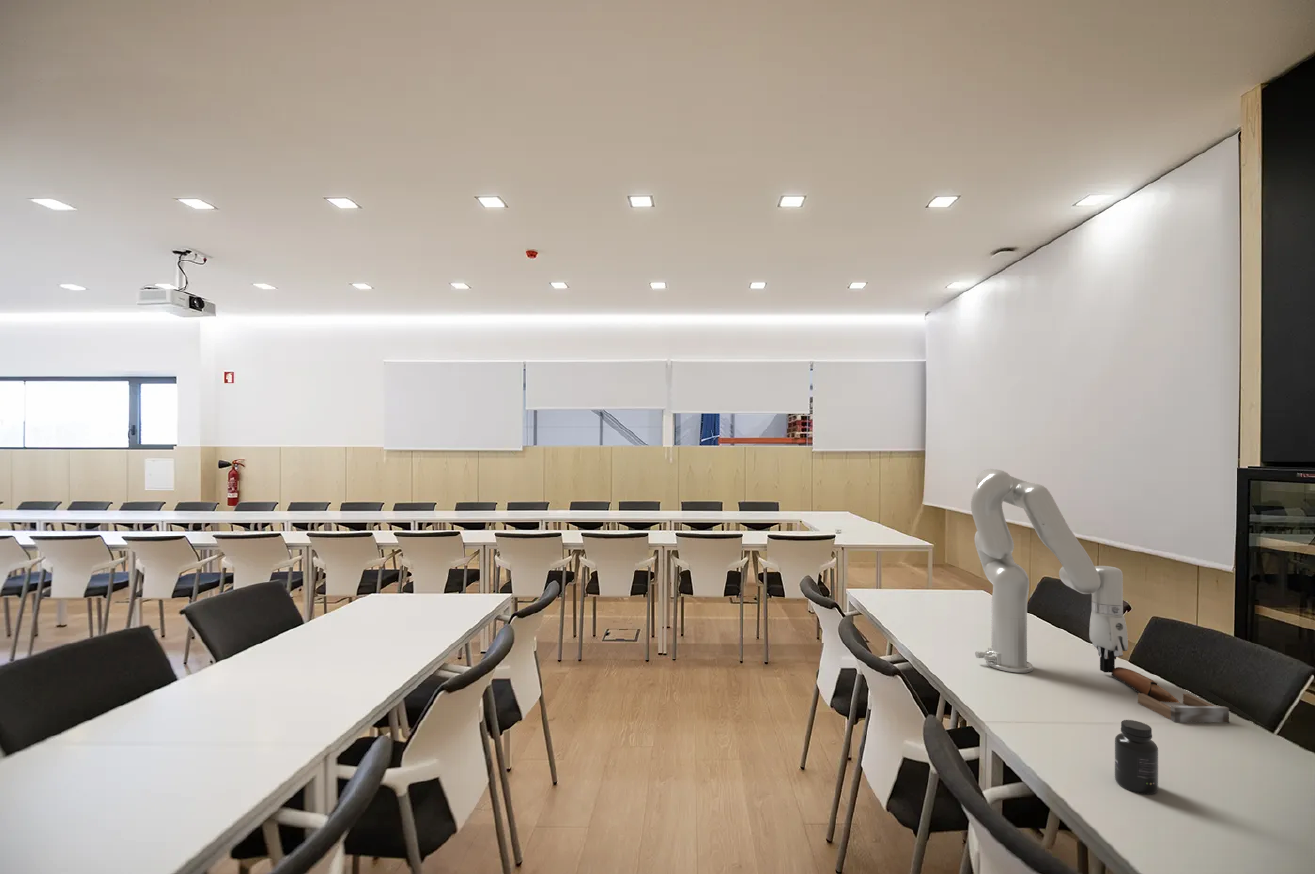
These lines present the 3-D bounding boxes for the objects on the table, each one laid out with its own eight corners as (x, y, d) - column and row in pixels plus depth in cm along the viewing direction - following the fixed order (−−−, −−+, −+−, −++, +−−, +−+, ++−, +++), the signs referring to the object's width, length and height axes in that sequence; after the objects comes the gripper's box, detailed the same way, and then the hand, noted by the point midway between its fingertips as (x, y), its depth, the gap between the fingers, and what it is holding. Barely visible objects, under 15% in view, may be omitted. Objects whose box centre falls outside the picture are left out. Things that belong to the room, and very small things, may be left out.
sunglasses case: (1183, 703, 166) (1169, 679, 166) (1158, 715, 166) (1143, 692, 167) (1142, 678, 183) (1129, 658, 184) (1119, 689, 184) (1106, 669, 185)
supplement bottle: (1105, 777, 127) (1105, 717, 127) (1137, 776, 128) (1137, 716, 128) (1134, 796, 120) (1134, 732, 120) (1167, 795, 121) (1167, 731, 121)
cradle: (1174, 722, 154) (1174, 707, 154) (1137, 702, 166) (1137, 689, 166) (1229, 722, 154) (1228, 708, 154) (1188, 703, 166) (1188, 689, 166)
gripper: (1139, 615, 179) (1139, 680, 179) (1101, 602, 194) (1101, 662, 194) (1113, 615, 179) (1113, 680, 179) (1077, 602, 194) (1077, 662, 193)
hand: (1107, 671), depth 186 cm, fingers closed
